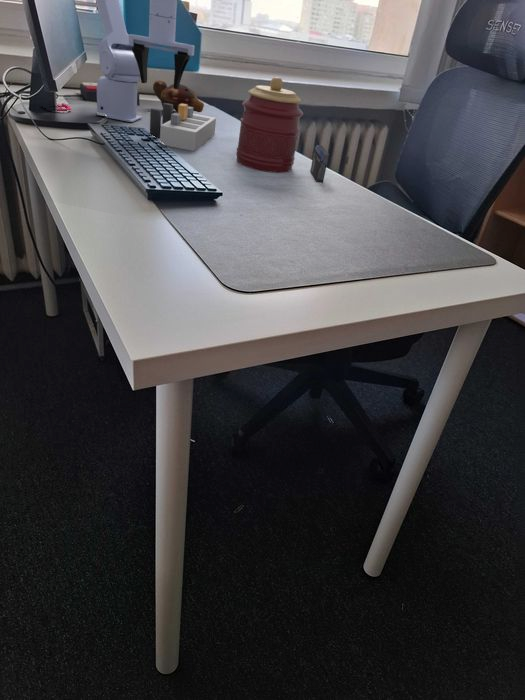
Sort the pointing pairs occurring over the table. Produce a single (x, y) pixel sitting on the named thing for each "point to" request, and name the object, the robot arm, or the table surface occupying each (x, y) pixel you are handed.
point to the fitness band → (63, 106)
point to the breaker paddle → (183, 111)
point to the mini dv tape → (319, 163)
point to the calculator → (93, 91)
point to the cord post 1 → (155, 122)
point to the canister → (269, 128)
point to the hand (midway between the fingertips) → (160, 85)
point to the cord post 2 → (167, 112)
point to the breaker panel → (187, 130)
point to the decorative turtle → (177, 96)
